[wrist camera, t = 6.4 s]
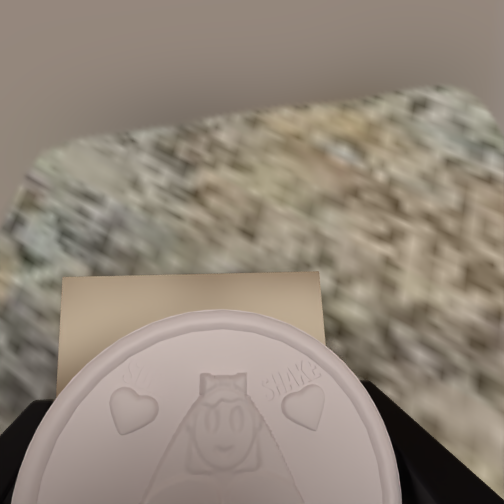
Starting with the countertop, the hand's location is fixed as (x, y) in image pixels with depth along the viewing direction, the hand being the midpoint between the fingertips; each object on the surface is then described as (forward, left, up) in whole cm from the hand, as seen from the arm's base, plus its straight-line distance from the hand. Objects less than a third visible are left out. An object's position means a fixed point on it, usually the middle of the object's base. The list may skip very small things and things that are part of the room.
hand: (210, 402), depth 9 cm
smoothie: (-1, 0, -7) cm, 8 cm away
